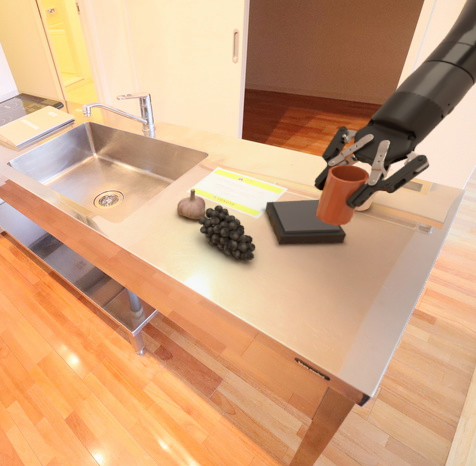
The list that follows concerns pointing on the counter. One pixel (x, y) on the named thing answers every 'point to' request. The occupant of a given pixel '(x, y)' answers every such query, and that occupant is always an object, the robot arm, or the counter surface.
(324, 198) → the terracotta cup
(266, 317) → the counter surface
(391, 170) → the cup
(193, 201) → the garlic bulb
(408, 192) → the counter surface
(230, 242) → the fruit
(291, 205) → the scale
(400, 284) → the counter surface
